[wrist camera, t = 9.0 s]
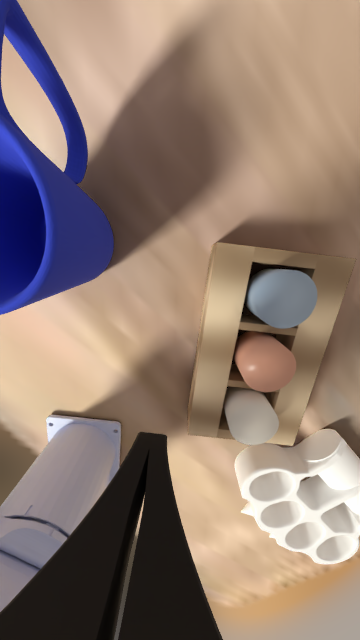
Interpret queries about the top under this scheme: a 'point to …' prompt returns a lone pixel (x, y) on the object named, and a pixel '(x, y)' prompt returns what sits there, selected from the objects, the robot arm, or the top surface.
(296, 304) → the pale blue rounded lump
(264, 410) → the pale grey rounded piece
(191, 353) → the top surface
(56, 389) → the top surface
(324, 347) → the wooden compartment tray
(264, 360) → the pink egg
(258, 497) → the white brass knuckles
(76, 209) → the mug
